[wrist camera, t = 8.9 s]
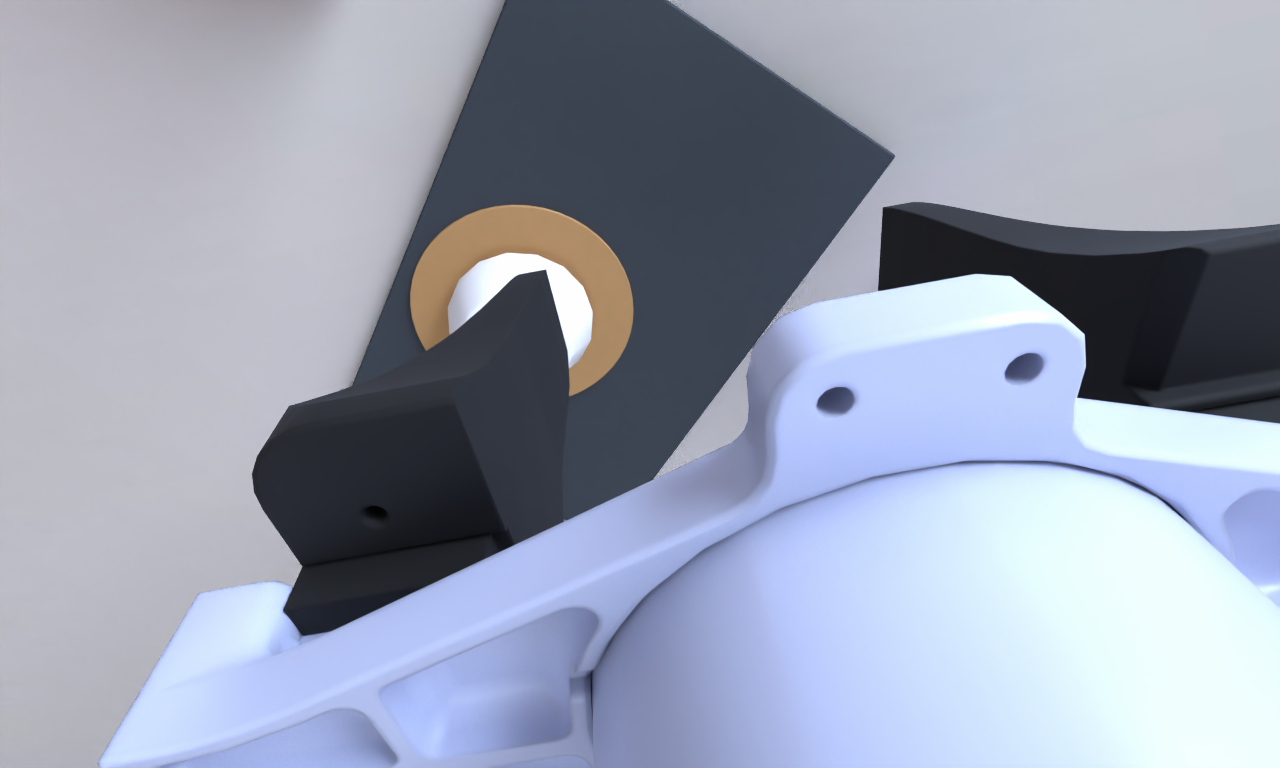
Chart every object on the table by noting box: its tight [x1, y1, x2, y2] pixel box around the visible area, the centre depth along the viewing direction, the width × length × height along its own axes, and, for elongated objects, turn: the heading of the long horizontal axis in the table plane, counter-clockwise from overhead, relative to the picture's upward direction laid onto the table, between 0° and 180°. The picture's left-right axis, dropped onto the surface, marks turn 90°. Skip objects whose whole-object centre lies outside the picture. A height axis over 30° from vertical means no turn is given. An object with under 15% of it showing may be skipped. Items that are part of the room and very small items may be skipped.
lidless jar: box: [448, 253, 593, 368], centre depth 22 cm, size 5×3×5 cm
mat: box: [353, 0, 895, 520], centre depth 24 cm, size 13×20×1 cm, turn 150°
